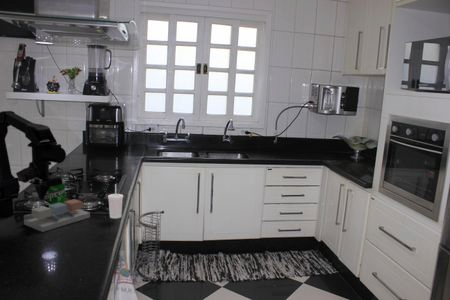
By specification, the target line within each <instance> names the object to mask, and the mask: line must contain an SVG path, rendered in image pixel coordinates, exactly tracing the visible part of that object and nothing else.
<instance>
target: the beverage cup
mask: <svg viewBox="0 0 450 300" xmlns="http://www.w3.org/2000/svg"><path fill="white" fill-rule="evenodd" d="M123 198H124V195H123V194H121V193H117V183H115V184H114V193H112V194H109V195H107V199H108V206H109V207H108V208H109V209H108V210H109V217H110V219H120V218H122V212H123V200H124V199H123Z"/></svg>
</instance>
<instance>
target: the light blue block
mask: <svg viewBox="0 0 450 300" xmlns="http://www.w3.org/2000/svg"><path fill="white" fill-rule="evenodd" d="M48 208H50V209H51V214H54V215H59V214H62V213H66V212H67V205H66V204H63V203H60V202H59V203H55V204H51V205H48Z"/></svg>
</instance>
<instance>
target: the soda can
mask: <svg viewBox="0 0 450 300" xmlns="http://www.w3.org/2000/svg"><path fill="white" fill-rule="evenodd" d="M61 178H62V184H61V185H56V186H51V187H49V189H48V191H47V193H46V197H47V201H46V202H48V203H49V204H55V203H59V202H60V203H63V204H64V202H65V201H67V200H66V198H67V196H66V189H67V188H66V179H64V178H63V177H61Z"/></svg>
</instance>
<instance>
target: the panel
mask: <svg viewBox="0 0 450 300" xmlns="http://www.w3.org/2000/svg"><path fill="white" fill-rule="evenodd" d="M89 218H91V212H89V211H86V210H83V209H78V210H75V211H70V210H67V212H66V213H62V214H59V215H54V214H51V216H50V217H46V218H43V219H37V218H34V217H32V213H29V214H24V215H23V225H26V226H27V227H29V228H32V229H35V230H37V231H39V232H40V233H41V232H42V233H43V232H47V231H51V230H53V229H56V228H59V227H62V226H63V227H64V226H66V225H70V224H74V223H76V222H79V221H83V220H86V219H89Z"/></svg>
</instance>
